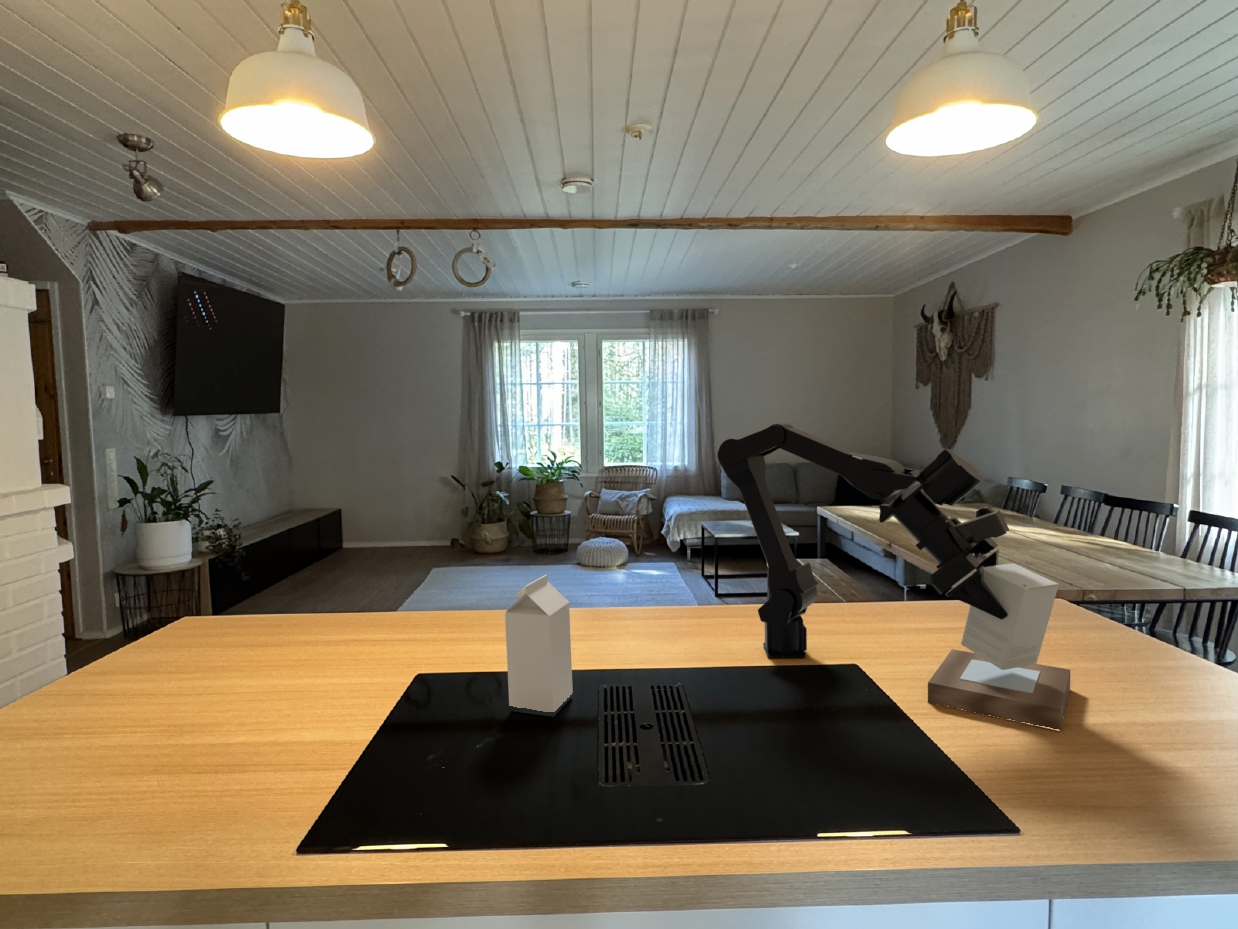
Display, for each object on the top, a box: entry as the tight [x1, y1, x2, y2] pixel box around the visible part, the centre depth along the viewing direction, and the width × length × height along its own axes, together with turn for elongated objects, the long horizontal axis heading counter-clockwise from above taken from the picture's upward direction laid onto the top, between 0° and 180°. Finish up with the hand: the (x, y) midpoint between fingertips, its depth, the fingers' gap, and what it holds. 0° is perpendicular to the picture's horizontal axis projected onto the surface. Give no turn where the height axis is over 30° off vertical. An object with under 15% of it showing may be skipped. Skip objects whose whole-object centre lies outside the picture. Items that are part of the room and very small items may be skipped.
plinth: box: [927, 648, 1071, 731], centre depth 98 cm, size 16×16×3 cm
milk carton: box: [504, 574, 574, 712], centre depth 99 cm, size 7×7×19 cm
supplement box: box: [960, 563, 1060, 670], centre depth 96 cm, size 7×7×13 cm
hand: (1010, 609), depth 96 cm, fingers closed on supplement box, 9 cm apart
